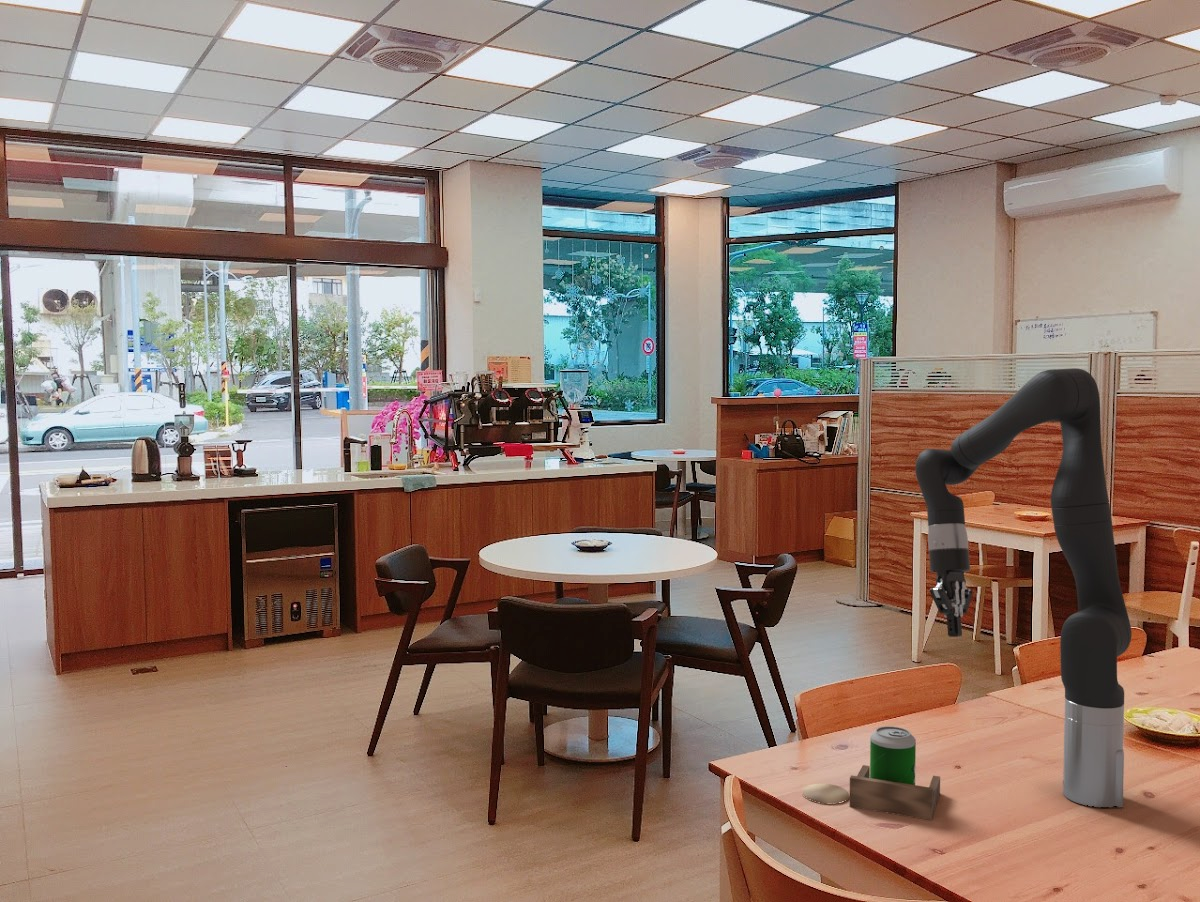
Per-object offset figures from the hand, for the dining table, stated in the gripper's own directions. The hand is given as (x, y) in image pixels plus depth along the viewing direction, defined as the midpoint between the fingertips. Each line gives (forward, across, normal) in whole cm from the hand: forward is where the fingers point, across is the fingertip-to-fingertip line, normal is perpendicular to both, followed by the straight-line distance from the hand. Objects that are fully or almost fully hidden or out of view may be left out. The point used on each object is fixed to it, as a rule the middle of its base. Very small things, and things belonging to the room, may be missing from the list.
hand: (955, 636), depth 194 cm
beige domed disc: (+27, -32, +9) cm, 43 cm away
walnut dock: (+28, -25, 0) cm, 37 cm away
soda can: (+28, -25, 0) cm, 38 cm away
